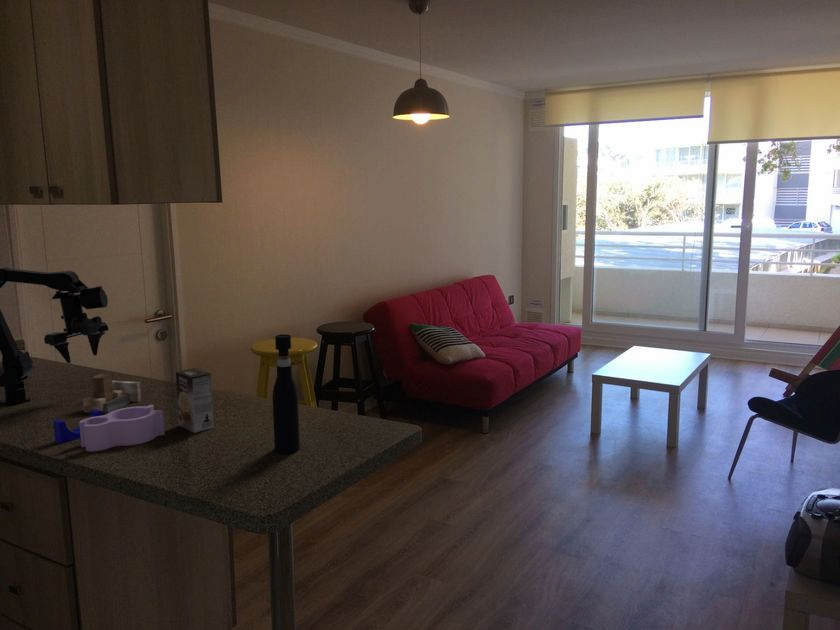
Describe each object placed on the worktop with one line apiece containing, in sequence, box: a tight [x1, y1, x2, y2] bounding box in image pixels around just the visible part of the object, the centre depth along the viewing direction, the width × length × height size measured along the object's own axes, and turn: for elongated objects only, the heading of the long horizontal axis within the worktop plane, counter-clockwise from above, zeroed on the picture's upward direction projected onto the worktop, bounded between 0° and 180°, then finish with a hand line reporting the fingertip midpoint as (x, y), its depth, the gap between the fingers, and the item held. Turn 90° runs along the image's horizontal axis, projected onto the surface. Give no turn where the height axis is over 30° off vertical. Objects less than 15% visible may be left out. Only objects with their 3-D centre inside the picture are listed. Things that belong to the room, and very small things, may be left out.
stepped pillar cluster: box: [82, 380, 142, 415], centre depth 213 cm, size 14×14×6 cm
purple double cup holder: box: [78, 404, 166, 452], centre depth 183 cm, size 20×12×7 cm, turn 133°
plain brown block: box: [91, 373, 114, 402], centre depth 211 cm, size 4×4×10 cm
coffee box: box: [175, 367, 214, 434], centre depth 192 cm, size 9×6×16 cm
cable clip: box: [52, 409, 103, 445], centre depth 186 cm, size 12×4×6 cm, turn 147°
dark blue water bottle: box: [272, 334, 301, 455], centre depth 174 cm, size 6×6×30 cm
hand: (82, 359), depth 217 cm, fingers open, 9 cm apart
